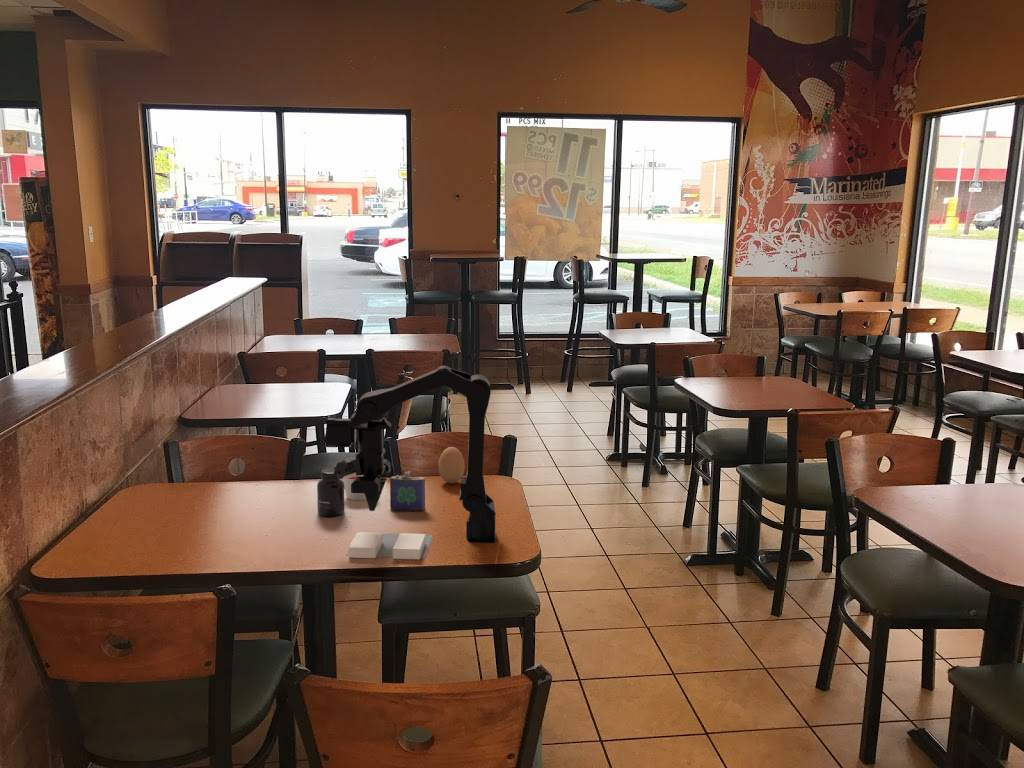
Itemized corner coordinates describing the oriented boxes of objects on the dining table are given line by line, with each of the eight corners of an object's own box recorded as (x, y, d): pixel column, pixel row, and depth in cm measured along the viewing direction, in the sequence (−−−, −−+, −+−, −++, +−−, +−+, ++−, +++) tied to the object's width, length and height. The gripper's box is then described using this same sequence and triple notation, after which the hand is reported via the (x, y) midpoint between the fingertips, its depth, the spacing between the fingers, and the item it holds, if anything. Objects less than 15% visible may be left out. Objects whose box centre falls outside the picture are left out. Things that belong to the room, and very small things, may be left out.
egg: (454, 477, 256) (454, 442, 254) (469, 484, 250) (470, 447, 248) (433, 482, 251) (433, 446, 249) (448, 489, 245) (448, 452, 243)
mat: (432, 537, 209) (432, 535, 209) (424, 559, 195) (424, 557, 195) (358, 535, 210) (358, 533, 210) (345, 557, 196) (345, 555, 196)
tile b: (382, 532, 203) (375, 548, 194) (383, 542, 204) (375, 558, 194) (357, 532, 203) (348, 547, 194) (357, 542, 204) (348, 557, 195)
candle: (338, 494, 240) (338, 472, 239) (370, 490, 244) (370, 468, 242) (347, 503, 232) (346, 481, 231) (379, 499, 236) (379, 477, 234)
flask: (425, 509, 229) (425, 470, 227) (424, 513, 226) (424, 473, 224) (391, 508, 229) (390, 469, 227) (389, 512, 226) (388, 472, 224)
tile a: (425, 533, 203) (419, 549, 194) (425, 544, 203) (419, 559, 194) (399, 533, 203) (392, 548, 194) (400, 543, 204) (393, 559, 194)
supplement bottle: (318, 520, 219) (317, 475, 217) (317, 511, 226) (315, 467, 223) (345, 518, 221) (344, 473, 219) (343, 509, 227) (342, 465, 225)
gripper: (345, 436, 211) (346, 497, 214) (327, 457, 193) (329, 523, 196) (390, 436, 211) (391, 498, 214) (377, 458, 193) (378, 524, 196)
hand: (372, 510), depth 205 cm, fingers closed
